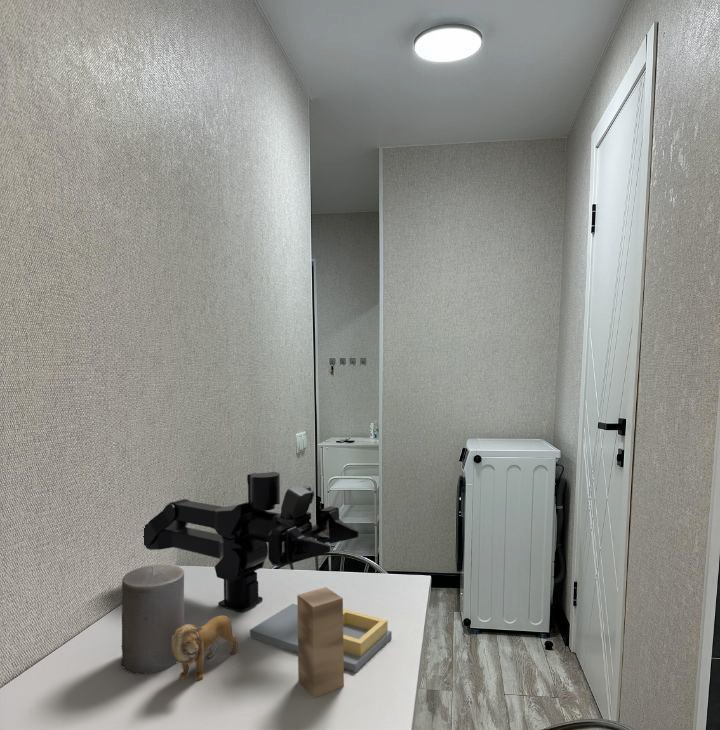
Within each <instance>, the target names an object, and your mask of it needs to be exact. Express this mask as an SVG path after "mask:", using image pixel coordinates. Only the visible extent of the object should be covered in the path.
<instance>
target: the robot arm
mask: <svg viewBox="0 0 720 730" xmlns="http://www.w3.org/2000/svg"><path fill="white" fill-rule="evenodd" d="M246 477H247V479H246V480H247V493H248V494H247V498H248V500H247V501H246V502H243V503H240V504H235V505H230V506H220V505H215V504H209V503H202V502H198V501H191V500H189V499H186V498H184V499H179V500H175V501H171V502H169V503H168V504H167V505H166V506H165V507H164V508H163V509H162V510H161V511H160V512H158V513H157V514H156V515H155V516H154V517H153V518H152V519H150V520H149V521H148V522H147V523H146V525H145V524H144V525H145V528H144V527H143V528H144V536H143V537H144V545H145V546H146V547H145V546H144V545H143V546H144V547H145V549H147V550H149V551H150V550H151V551H153V550H154V551H157V550H158V551H159V550H166V549H171V548H172V549H173V548H175V549H177V550H183V551H186V552H190V553H195V554H198V555H203V556H206V557H211V558H213V559H218V560H219V561H218V562H217V563H216V565H214V570H215V574H216V577H217V578H219V579H222V580H223V599H222V600H220V601H218V603H217V605H218V606H219V607H222V608H226V609H228V610H231V611H235V612H239V613H243V612H245V611H246V610H248V609H250V608H252V607H253V606H255V605H257V604H258V603H260V602H262V601H263V597H261V596H260V595H259V581H258V572H257V570H259V569H263V568H264V565H265V561H266V559H267V558H268V561H269V562H270V563H271V566H274V567H279V568H281V567H284V566H285V565H288V566H289V565H291V564H295V563H298V562H301V561H304V560H308V559H311V558H314V557H318V556H321V555H325V554H329V553H330V552H331V545H329V544H334V543H338V542H339V543H340V542H343V541H348V540H353V539H356V538H359V530H357V529H355V528H353V527H352V526H350V525H348V524H347V523H345V522H344V521H343V520H341V519H340V509H339V508H338V507H337V506H332V505H331V506H328V507H325V508H322V509H320V510H319V511H318V512H317V513H316V524H315V525H313V524H312V522H311V521H310V520H312V512H311V511H310V512H309V508H310V505H311V504H312V503H313V500H314V497H315V492H314V490H312V487H311V486H308V485H307V486H306V485H295V486H293V487H289V488H288V489H287V490H286V491H285V493H284V497H283V501H282V504H281V508H280V512H274V511H271V510H274V509H275V508H276V506H277V505H280V503H281V483H280V482H281V474H280V472H276V471H270V472H260V473H256V472H253V473H249V474H247V476H246ZM188 524H192V525H196V526H197V525H198V526H202V527H207V528H211V529H212V530H213V529H214V530H215V532H216V533H214V532H210V531H206V530H201V529H196V528H191V527H187V526H188ZM317 539H318V540H317ZM327 543H328V544H327Z"/></svg>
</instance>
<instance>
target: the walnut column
mask: <svg viewBox="0 0 720 730" xmlns="http://www.w3.org/2000/svg"><path fill="white" fill-rule="evenodd" d="M296 597H297V601H296V602H297V604H296V605H298V653H297V669H298V670H297V671H298V673H297V674H298V675H297V676H298V680H297V681H298V682H299V683H300V685H302V686H303V688H304V689H305V690H306V691H307V692H308V693H309V694H310V695H311V696H312V698H314V699H315V698H317V697H320V696H323V695H326V694H327V693H330V692H332V691H335V690H337V689H340V688H342V687H344V686H345V679H344V678H345V677H344V676H345V675H344V674H345V673H344V671H345V669H344V657H343V609H344V601H343V600H344V599H343V597H342V596H340V595H339V594H337V593H336V592H334V591H333V590H331V589H330V588H329V587H327V586H324V587H321V588H316V589H314V590H310V591H306V592H302V593H299V594H297V596H296Z"/></svg>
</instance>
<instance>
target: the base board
mask: <svg viewBox="0 0 720 730" xmlns="http://www.w3.org/2000/svg"><path fill="white" fill-rule="evenodd" d="M388 623H389V621H388V619H384V618H380V617H376V616H372V615H368V614H365V613H361V612H357V611H355V610H354V611H353V610H351V609H346V608H343V657H344V670H347V671H349V672H353V673H356V672H357V671H358V670H360V669H361V668H362V667H363V666H364V665H365V664H366V663H367V662H368V661H369V660H370V659H371V658H372V657H374V656H375V655H376V654H377V653H378V652H379V651H380V650H381V649H382V648H384V646H385V645H386V644H387V643H388V642H389V641H390V640H392V638H393V637H392V635H393V634H392V633H393V632H392V631H391V630H388V629H389V628H388ZM249 637H250V638H254V639H255V640H258V641H262V642H266V643H268V644H271V645H272V646H273V645H274V646H276V647H279V648H282V649H285V650H288V651H291V652H295V653H297V654H298V604H296V603H291V604H290V605H288V606H286V607H284V608H283V609H281V610H280V611H278V612H276V613H275V614H273V615H272V616H270V617H269V618H267V619H265V620H264V621H262V622H260V623H259V624H257V625H256V626H254V627H252V628H250V629H249Z"/></svg>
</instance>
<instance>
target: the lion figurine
mask: <svg viewBox="0 0 720 730" xmlns="http://www.w3.org/2000/svg"><path fill="white" fill-rule="evenodd" d="M219 637H220V639H222V640H224V641H225V642H226V643H228V644H231V646H232V647H231V648H230V649H229V654H232V655H233V654H234V655H235V654H236V653H238V641H237V638H236V636H234V634H233V626H232V622H231V620H230V619H229V617H228V616H226V615H218V616H213V617H212V618H211V619H209V620H208V621H207V622H206V623H205V624H203V625H202V626H201V627H199V626H197V625H195V624H189V623H186V624H184V625H182V626H181V627H179V628H178V629H177V630H176V631H175V634H174V635H173V636H172V651H173V654H174V656H175V658H176V660H177V661H178V662H177V663H179V664H181V666H182V672H180V674H179V678H180V679H183V680H184V679H186V678H187V677H188V676H189V673H190V666H189V664H192V663H194V662H195V663H196V669H195V677H194V679H195V680H196V681H201V680H202V681H203V679H204V669H203V668H204V667H203V666H204V659H205V658H206V659H207V658H209V659H210V658H212V657H213V656H215V653H216V650H217V648H218V647H219V641H218V640H219ZM209 649H210V650H209ZM207 650H209V651H208V652H206V651H207ZM205 652H206V654H205ZM204 656H205V657H204Z"/></svg>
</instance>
